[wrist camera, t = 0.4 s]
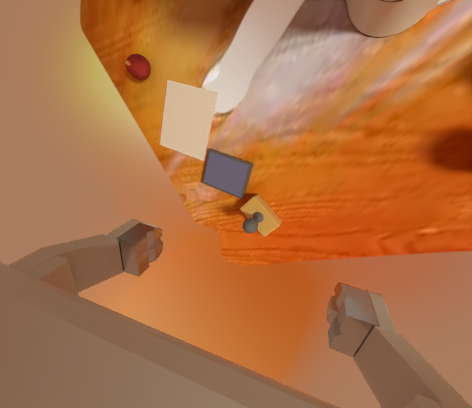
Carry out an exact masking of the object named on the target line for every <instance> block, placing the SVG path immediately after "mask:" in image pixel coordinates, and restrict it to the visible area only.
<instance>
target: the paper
mask: <svg viewBox="0 0 472 408" xmlns="http://www.w3.org/2000/svg"><path fill="white" fill-rule="evenodd" d="M217 94H218V93H216V92H212V91H209V90H205V89H201V88H197V87H193V86H190V85H186V84H182V83H178V82H174V81H170V80H167V88H166V97H165V105H164V113H163V122H162V130H161V139H160V145H162V146H165V147H168V148H170V149H173V150H176V151H178V152H181V153H184V154H186V155H189V156H192V157H194V158H197V159H199V160H202V161H204V158H205V153H206V148H207V143H208V138H209V133H210V129H211V124H212V119H213V114H214V109H215V104H216V99H217Z"/></svg>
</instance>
